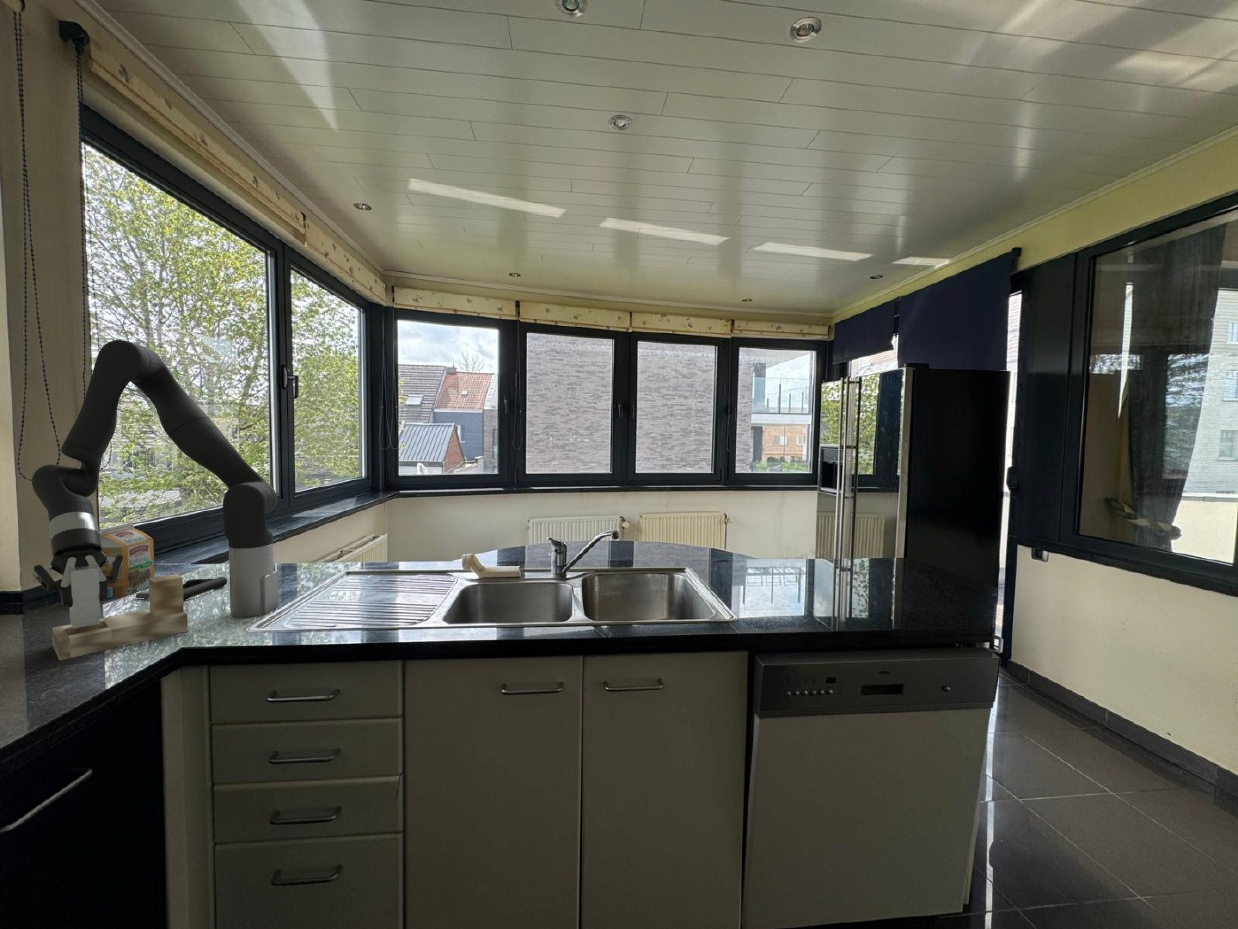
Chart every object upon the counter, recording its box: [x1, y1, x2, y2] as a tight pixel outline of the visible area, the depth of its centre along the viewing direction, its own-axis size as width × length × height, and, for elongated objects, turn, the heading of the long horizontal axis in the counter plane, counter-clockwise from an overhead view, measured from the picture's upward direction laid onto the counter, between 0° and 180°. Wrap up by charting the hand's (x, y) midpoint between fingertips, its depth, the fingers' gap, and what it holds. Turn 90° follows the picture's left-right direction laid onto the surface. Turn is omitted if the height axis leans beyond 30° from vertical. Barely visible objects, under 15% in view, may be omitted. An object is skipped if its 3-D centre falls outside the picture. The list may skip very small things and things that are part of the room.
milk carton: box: [99, 523, 156, 599], centre depth 145 cm, size 10×11×19 cm
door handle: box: [135, 576, 228, 602], centre depth 144 cm, size 3×20×16 cm
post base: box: [51, 573, 189, 661], centre depth 113 cm, size 20×11×12 cm, turn 143°
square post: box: [68, 565, 101, 629], centre depth 108 cm, size 4×4×12 cm
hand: (86, 602), depth 107 cm, fingers closed on square post, 4 cm apart
